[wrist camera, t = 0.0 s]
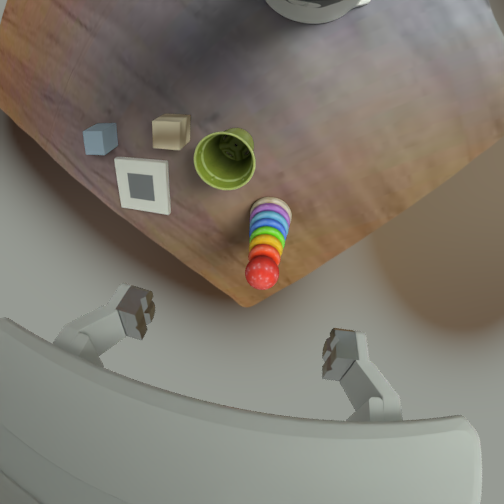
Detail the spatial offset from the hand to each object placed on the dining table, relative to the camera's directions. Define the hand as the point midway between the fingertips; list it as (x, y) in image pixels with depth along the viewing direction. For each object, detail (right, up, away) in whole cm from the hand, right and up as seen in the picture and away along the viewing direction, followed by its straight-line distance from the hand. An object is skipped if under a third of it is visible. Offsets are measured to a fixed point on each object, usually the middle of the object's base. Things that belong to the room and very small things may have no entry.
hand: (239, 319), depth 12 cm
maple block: (-13, +25, +33) cm, 44 cm away
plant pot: (-2, +22, +34) cm, 40 cm away
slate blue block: (-29, +27, +35) cm, 53 cm away
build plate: (-22, +17, +42) cm, 51 cm away
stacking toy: (+4, +11, +42) cm, 44 cm away
